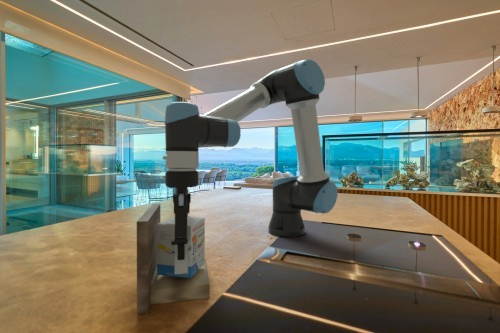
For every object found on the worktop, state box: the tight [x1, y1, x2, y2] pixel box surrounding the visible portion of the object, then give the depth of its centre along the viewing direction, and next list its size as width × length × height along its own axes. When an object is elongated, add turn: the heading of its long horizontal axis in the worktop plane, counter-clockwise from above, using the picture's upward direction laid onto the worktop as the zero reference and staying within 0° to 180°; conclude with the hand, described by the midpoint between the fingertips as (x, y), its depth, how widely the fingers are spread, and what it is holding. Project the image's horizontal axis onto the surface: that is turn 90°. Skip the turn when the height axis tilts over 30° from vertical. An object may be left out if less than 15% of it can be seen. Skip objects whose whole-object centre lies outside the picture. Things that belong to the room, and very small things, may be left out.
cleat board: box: [136, 203, 211, 316], centre depth 59 cm, size 14×20×18 cm
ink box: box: [157, 216, 206, 278], centre depth 59 cm, size 9×8×12 cm
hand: (182, 262), depth 60 cm, fingers closed on ink box, 10 cm apart
